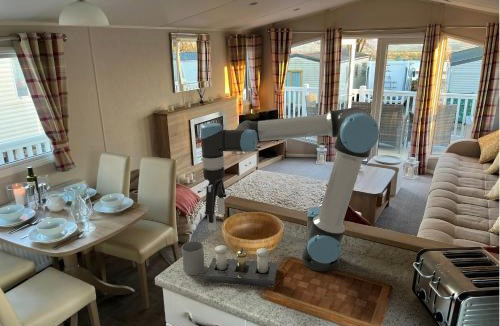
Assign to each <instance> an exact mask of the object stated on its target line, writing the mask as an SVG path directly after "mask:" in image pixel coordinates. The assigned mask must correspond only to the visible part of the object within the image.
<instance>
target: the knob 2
mask: <svg viewBox="0 0 500 326" xmlns="http://www.w3.org/2000/svg"><path fill="white" fill-rule="evenodd" d="M255 253H256V256H257V260H256V261H257V268H258V272H260V273H259V274H266V273H265V272H267V271H268V262H269V253H270V251H269V249H268V248H265V247H260V248H258V249H257V250H256V252H255Z"/></svg>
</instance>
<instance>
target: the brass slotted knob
mask: <svg viewBox="0 0 500 326" xmlns="http://www.w3.org/2000/svg"><path fill="white" fill-rule="evenodd" d="M235 252H236V254H235V255H236V257H237V260H238V270H241V271H243V270H246V260H247V255H248V250H247V249H245V248H239V249H237V250H236V251H235Z"/></svg>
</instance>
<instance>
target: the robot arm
mask: <svg viewBox="0 0 500 326" xmlns="http://www.w3.org/2000/svg"><path fill="white" fill-rule="evenodd" d="M319 136H320V137H322V136H329V137H330V138H336V139H335V143H334V146H333V149H334V151H335V153H336V155H335V158H334V162H333V166H332V168H331V172H330V174H329V175H330V176H329V180H328V183H327V185H326V190H325V193H324V196H323V200H322V204H321V206H315V207H311V208H309V209H308V210H307V215H306V218H307V219H306V220H307V222H306V223H307V224H306V227H307V228H306V244H305V247H304V249H303V251H302V254H301V263H302V264H303V265H304V266H305V267H306V268H308V269H310V270H313V271H317V272H331V271H334V270H336V269H337V268H338V267H339V266H340V260H341V258H340V256H341V253H342V241H343V238H344V234H345V231H346V226H345V225H344V220H345V217H346V213H347V211H348V207H349V203H350V201H351V197H352V194H353V191H354V188H355V185H356V181H357V179H358V176H359V172H360V169H361V167H362V163H363V161H365V160H366V159H368V158H369V157H370V154H371V150H372V149H373V148H374V147H375V146H376V144H377V142H378V140H379V136H380V131H379V125H378V123H377V120H375V118H374V117H373V116H372V115H370V114H369V113H368V111H366V110H365V109H363V108H361V107H349V108H342V109H335V110H334V109H333V110H329V111H328V112H326V113H325V114H323V113H322V114H316V115H315V114H314V115H305V116H297V117H288V118H286V117H285V118H276V119H265V120H257V121H251V120H244V121H242V122H241V123H239V124H238V125H237V126H236V128H235V129H223V127H222V124H221V123H219V122H217V123H216V122H209V123H204V124H202V125H201V126H200V143H201V144H200V147H201V156H202V158H201V159H200V161H202V167H203V168H202V170H203V171H202V173H203V178H204V180H206V181H208V184H207V185H206V186H205V190H206V191H205V192H206V193H205V209H204V215H205V216H206V215H207V228H208V231H217V217H216V212H215V211H216V210H215V209H216V207H217V214H218V215H225V214H226V207H225V198H227V193H226V188H225V185H224V184H225V183H224V180H223V179H224V178H225V175H226V174H225V167H224V166H225V160H224V159H225V157H224V152H233V153H234V152H243V153H248V152H249V153H250V152H255V151H256V150H257V148H258V142H267V141H275V140H276V141H277V140H287V139H288V140H289V139H298V138H299V139H300V138H308V137H309V138H311V137H319ZM216 204H217V206H216Z"/></svg>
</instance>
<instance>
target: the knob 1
mask: <svg viewBox="0 0 500 326" xmlns="http://www.w3.org/2000/svg"><path fill="white" fill-rule="evenodd" d="M214 252H215V258H216V264H217V269H220V270H219V271H224V270H223V269H226V268H227V259H228V258H227V257H228V256H227V252H228V247H227V246H226V245H223V244H222V245H217V246H216V247H214Z"/></svg>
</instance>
